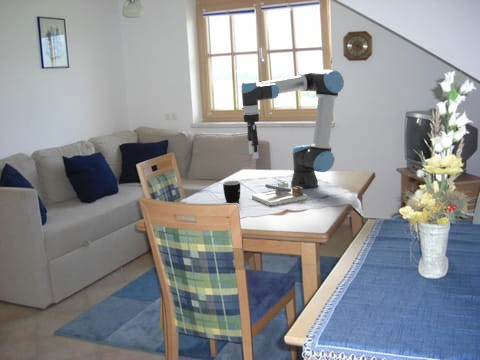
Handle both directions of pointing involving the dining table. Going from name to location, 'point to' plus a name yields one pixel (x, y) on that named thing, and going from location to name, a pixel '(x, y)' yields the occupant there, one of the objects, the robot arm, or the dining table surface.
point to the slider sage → (283, 184)
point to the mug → (232, 191)
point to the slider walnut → (297, 191)
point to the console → (277, 197)
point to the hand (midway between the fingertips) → (253, 155)
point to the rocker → (278, 188)
